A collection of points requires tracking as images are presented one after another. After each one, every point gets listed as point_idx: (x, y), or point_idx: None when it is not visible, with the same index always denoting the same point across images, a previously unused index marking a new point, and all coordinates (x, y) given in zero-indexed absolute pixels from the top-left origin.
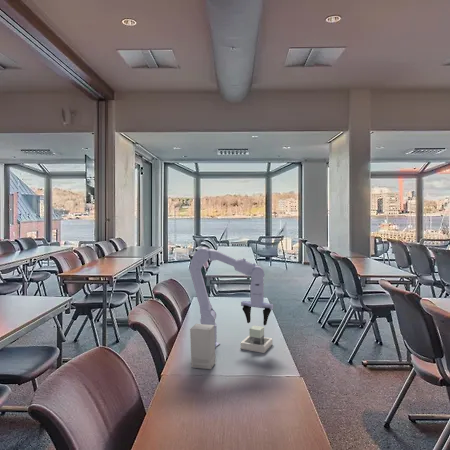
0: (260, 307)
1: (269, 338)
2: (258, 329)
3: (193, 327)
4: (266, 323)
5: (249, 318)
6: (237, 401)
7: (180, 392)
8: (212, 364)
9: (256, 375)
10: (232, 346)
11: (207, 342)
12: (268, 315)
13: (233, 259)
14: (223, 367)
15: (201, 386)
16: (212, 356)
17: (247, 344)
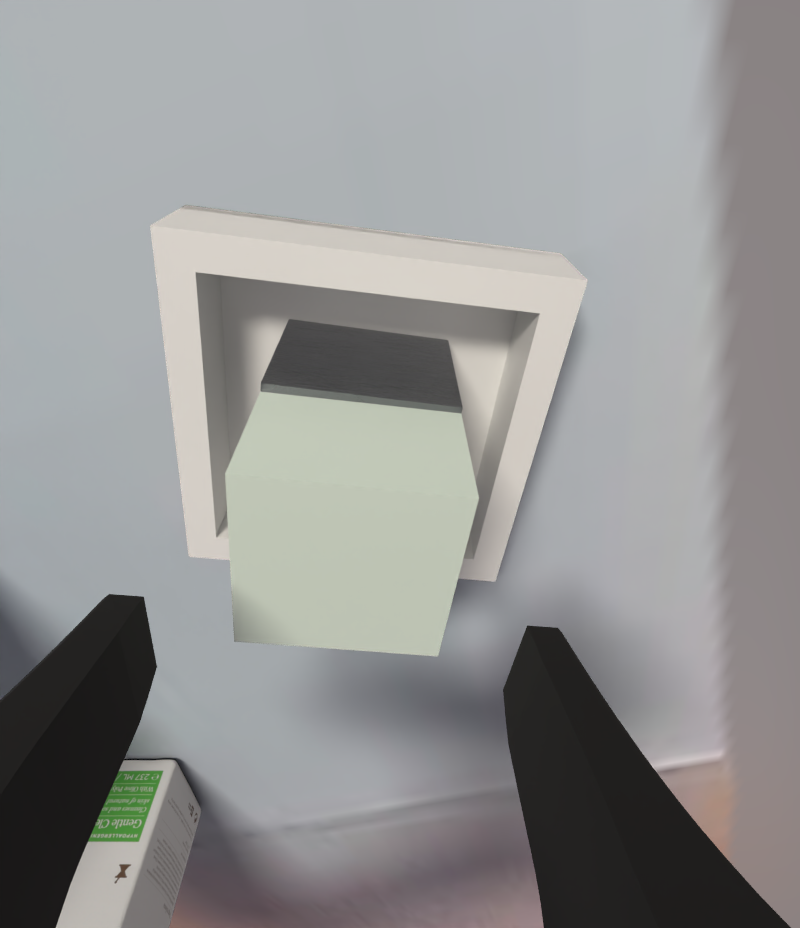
0: None
1: (536, 298)
2: (398, 633)
3: None
4: (565, 652)
5: (105, 720)
6: (444, 918)
7: (207, 922)
8: (190, 814)
9: (481, 797)
10: (88, 469)
11: None
12: (701, 865)
13: None
14: (257, 776)
15: (258, 892)
16: (173, 875)
17: None
